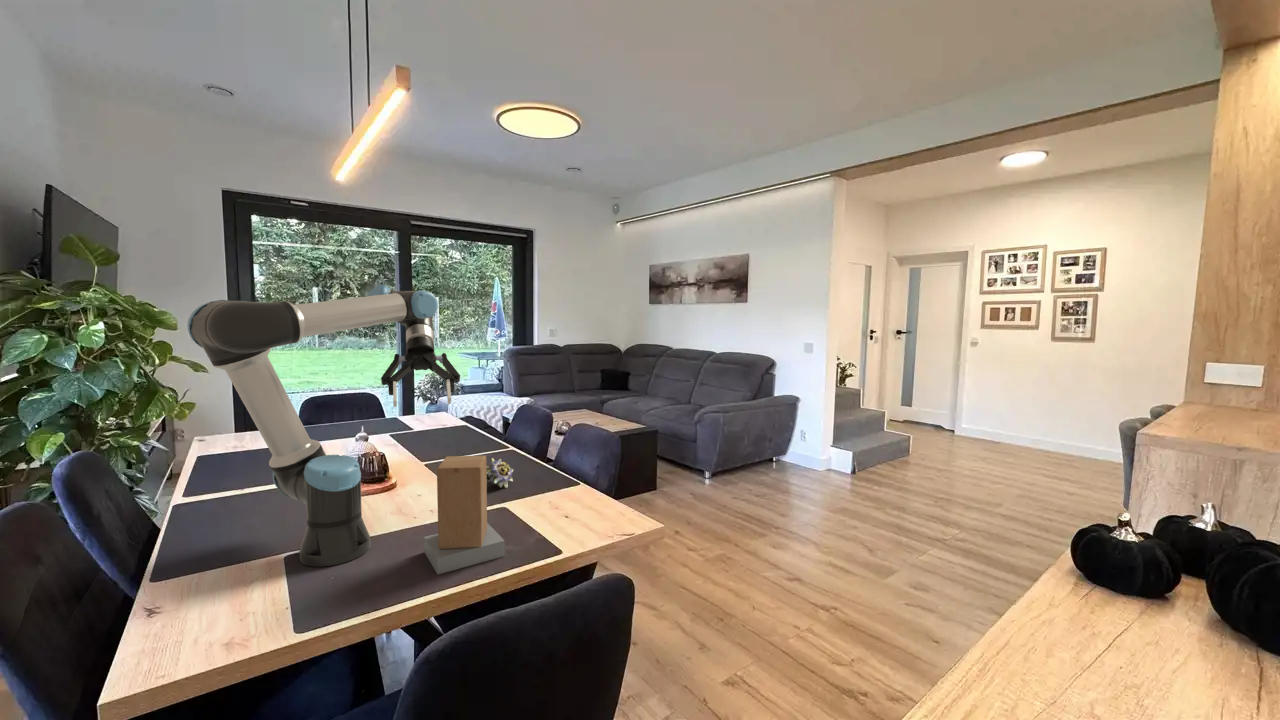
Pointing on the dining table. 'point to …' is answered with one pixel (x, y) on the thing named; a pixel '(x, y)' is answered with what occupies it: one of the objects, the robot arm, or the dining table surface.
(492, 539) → the plinth
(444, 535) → the wooden block
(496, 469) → the passion flower
